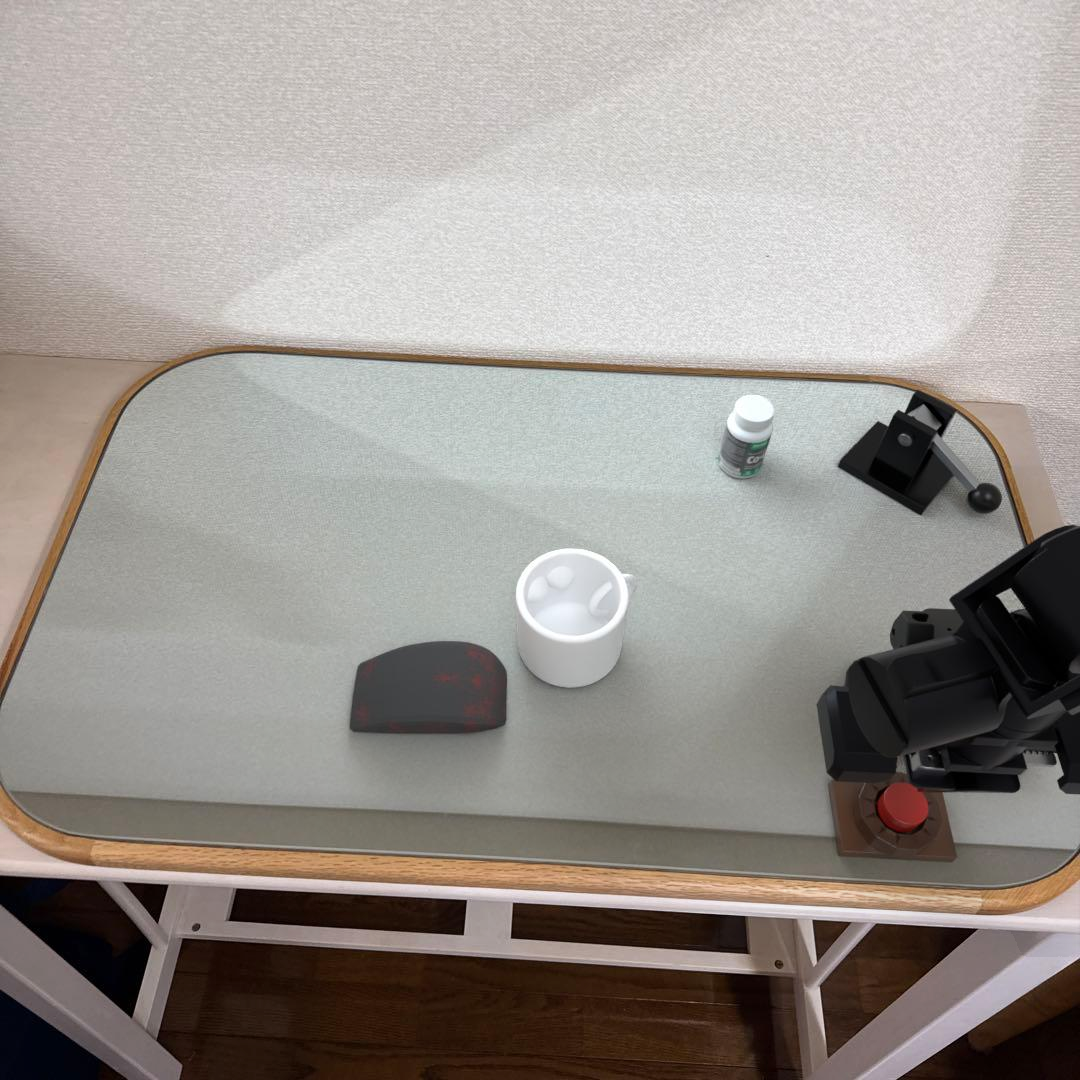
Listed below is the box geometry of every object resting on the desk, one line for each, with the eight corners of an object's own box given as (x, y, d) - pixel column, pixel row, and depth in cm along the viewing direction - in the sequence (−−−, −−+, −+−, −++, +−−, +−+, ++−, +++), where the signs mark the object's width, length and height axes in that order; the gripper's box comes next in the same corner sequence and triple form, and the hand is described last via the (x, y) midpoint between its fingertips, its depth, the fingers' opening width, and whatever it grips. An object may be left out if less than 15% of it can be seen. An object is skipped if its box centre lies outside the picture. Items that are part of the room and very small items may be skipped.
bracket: (956, 473, 95) (990, 415, 88) (920, 515, 91) (952, 458, 84) (874, 427, 99) (900, 369, 92) (837, 466, 95) (860, 408, 88)
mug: (598, 572, 87) (604, 515, 80) (661, 648, 82) (673, 595, 75) (494, 628, 83) (490, 573, 76) (554, 712, 78) (556, 662, 71)
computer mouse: (505, 740, 76) (504, 720, 73) (348, 741, 76) (340, 721, 73) (507, 659, 81) (506, 637, 78) (359, 659, 81) (352, 637, 78)
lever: (989, 506, 92) (1014, 495, 89) (975, 524, 90) (1000, 513, 87) (906, 412, 92) (929, 399, 89) (891, 429, 90) (913, 415, 87)
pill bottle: (741, 487, 94) (757, 431, 87) (708, 462, 96) (721, 406, 89) (770, 465, 96) (788, 409, 89) (737, 441, 98) (751, 385, 91)
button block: (935, 788, 74) (948, 774, 71) (952, 864, 70) (967, 852, 68) (827, 782, 74) (837, 768, 72) (838, 858, 70) (849, 846, 68)
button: (916, 791, 71) (923, 783, 70) (924, 833, 69) (932, 825, 68) (873, 789, 71) (880, 781, 70) (881, 831, 69) (888, 823, 68)
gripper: (1122, 585, 58) (1018, 694, 70) (837, 572, 58) (783, 682, 71) (1188, 744, 51) (1060, 833, 64) (865, 727, 52) (800, 819, 64)
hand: (921, 785), depth 66 cm, fingers closed
